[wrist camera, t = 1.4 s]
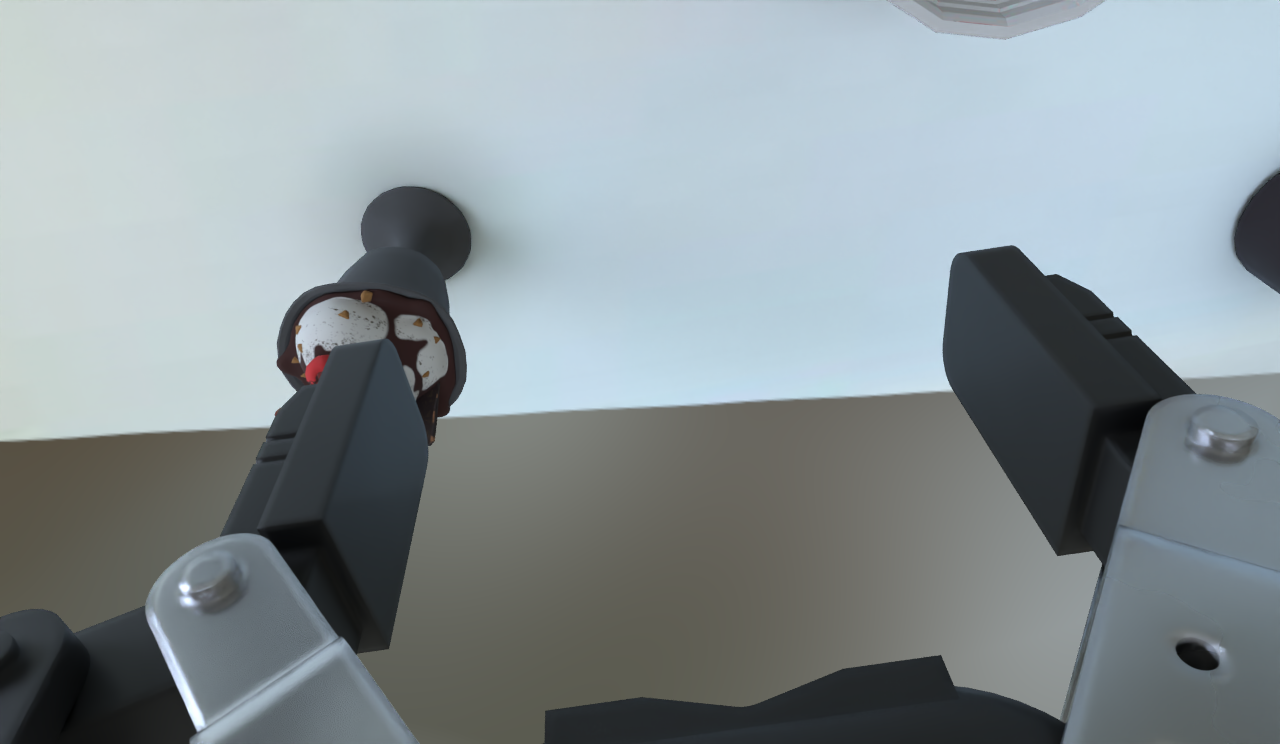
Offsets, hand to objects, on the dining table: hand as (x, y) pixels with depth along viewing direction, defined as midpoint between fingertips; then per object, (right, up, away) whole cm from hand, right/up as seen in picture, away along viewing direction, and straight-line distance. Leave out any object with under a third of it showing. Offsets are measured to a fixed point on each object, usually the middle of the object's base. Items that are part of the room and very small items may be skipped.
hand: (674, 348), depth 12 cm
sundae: (-11, +6, +26) cm, 29 cm away
